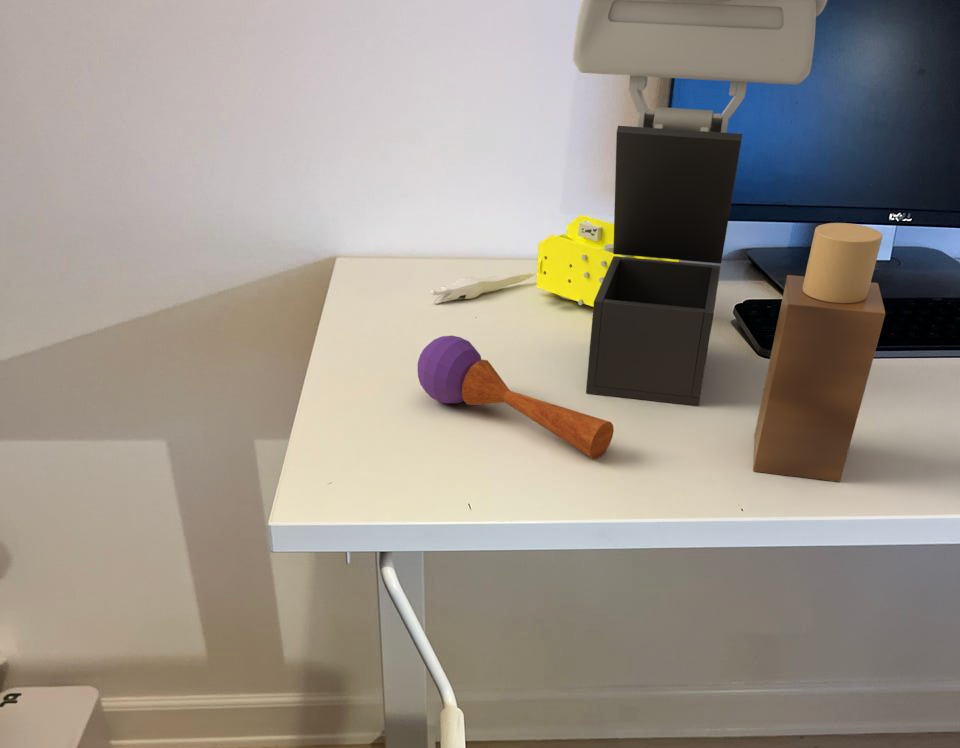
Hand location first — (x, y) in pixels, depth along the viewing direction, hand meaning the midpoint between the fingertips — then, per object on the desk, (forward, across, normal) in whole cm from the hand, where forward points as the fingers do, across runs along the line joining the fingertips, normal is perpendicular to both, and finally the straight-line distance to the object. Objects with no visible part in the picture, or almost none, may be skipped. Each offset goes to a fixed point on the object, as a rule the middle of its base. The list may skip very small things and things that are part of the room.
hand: (680, 135), depth 89 cm
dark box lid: (+5, 0, +1) cm, 5 cm away
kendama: (+21, +11, +19) cm, 30 cm away
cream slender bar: (+21, +21, -14) cm, 33 cm away
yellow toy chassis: (+21, +7, -13) cm, 25 cm away
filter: (+7, -14, +19) cm, 25 cm away
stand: (+21, -14, +19) cm, 31 cm away
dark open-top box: (+21, 0, +4) cm, 21 cm away
